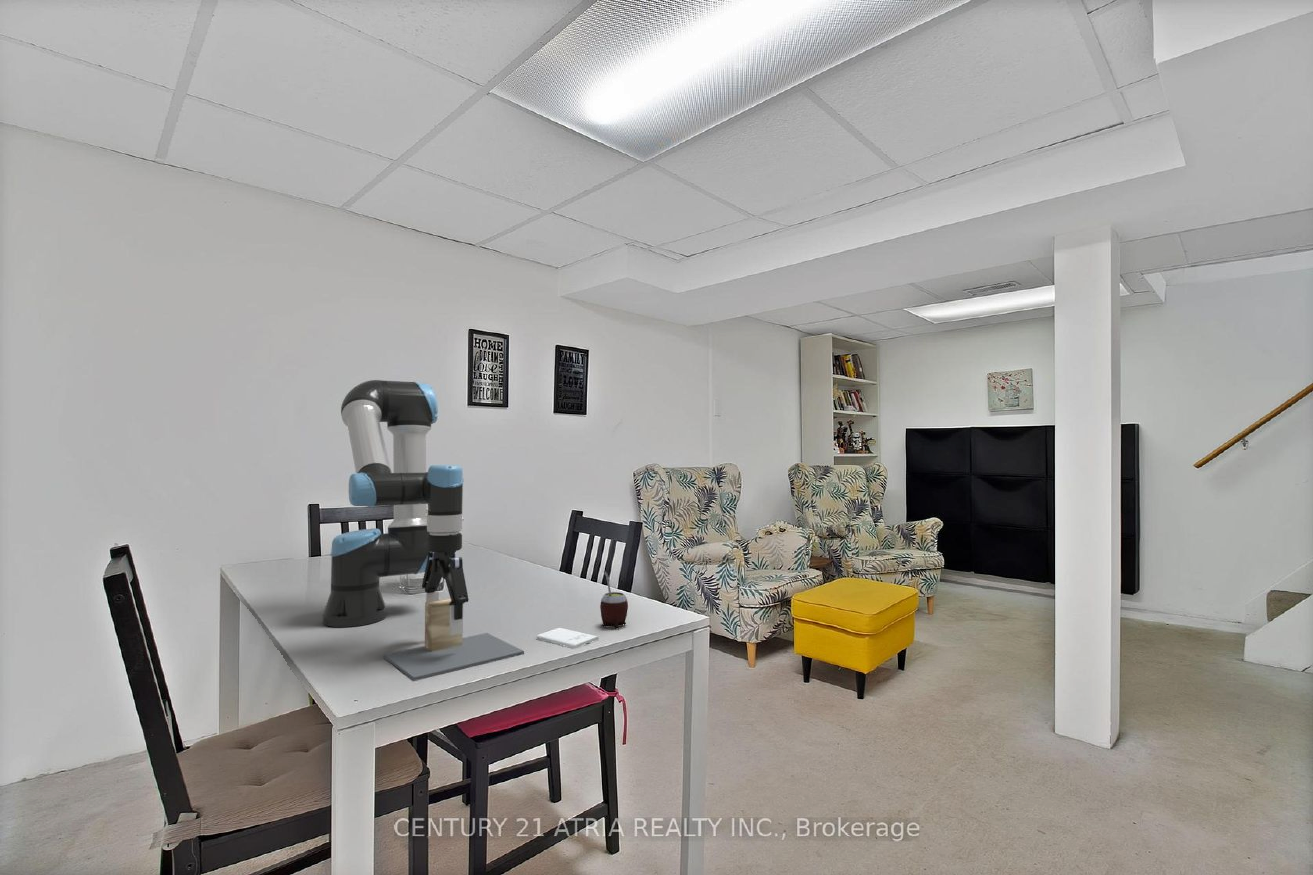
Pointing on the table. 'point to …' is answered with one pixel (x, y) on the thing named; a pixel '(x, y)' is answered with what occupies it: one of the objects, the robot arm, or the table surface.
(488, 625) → the table surface
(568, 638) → the external hard drive
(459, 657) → the mat
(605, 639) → the table surface
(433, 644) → the face block
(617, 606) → the mate gourd
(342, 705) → the table surface
